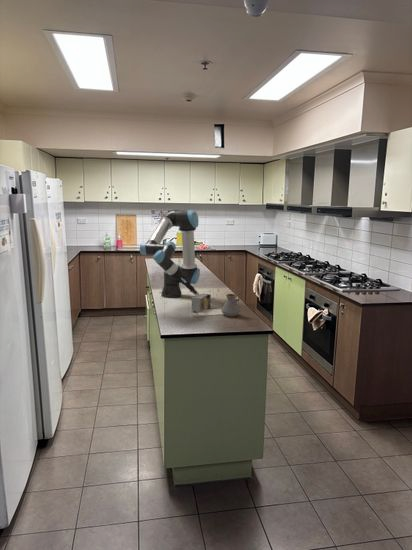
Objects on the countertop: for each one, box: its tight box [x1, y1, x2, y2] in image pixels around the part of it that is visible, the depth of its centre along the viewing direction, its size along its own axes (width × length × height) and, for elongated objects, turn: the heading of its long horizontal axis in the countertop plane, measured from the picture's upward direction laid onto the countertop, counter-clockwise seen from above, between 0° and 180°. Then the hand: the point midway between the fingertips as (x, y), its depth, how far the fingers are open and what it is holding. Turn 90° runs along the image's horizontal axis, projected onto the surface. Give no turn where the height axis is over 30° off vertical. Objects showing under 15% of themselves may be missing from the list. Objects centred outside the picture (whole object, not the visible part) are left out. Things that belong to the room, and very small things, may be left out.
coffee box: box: [191, 293, 212, 313], centre depth 261 cm, size 9×6×16 cm
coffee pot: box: [221, 293, 241, 318], centre depth 244 cm, size 21×12×15 cm, turn 13°
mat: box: [196, 308, 225, 317], centre depth 255 cm, size 12×18×1 cm, turn 109°
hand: (199, 296), depth 251 cm, fingers closed
